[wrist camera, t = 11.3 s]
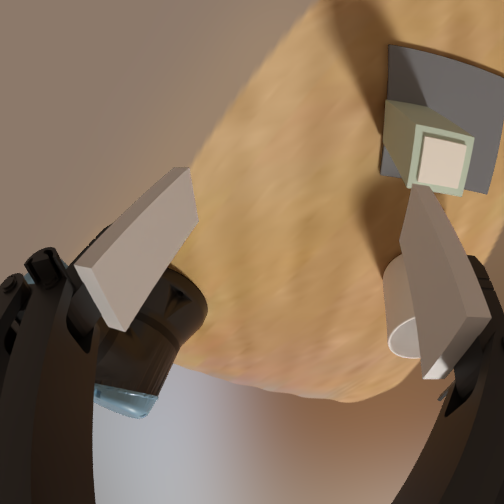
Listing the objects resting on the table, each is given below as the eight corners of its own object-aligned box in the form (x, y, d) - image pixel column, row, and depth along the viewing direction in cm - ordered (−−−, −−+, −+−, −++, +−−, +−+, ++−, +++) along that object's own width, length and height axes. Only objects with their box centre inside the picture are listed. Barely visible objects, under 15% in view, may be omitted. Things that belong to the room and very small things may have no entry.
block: (382, 141, 26) (407, 189, 17) (385, 99, 23) (416, 125, 14) (422, 148, 25) (462, 198, 16) (427, 106, 22) (476, 138, 13)
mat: (379, 173, 28) (380, 175, 28) (388, 44, 20) (389, 44, 19) (485, 192, 25) (487, 194, 25) (505, 79, 16) (507, 79, 16)
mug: (468, 250, 30) (493, 311, 22) (411, 303, 38) (419, 365, 30) (427, 217, 30) (452, 279, 22) (369, 279, 37) (372, 344, 29)
